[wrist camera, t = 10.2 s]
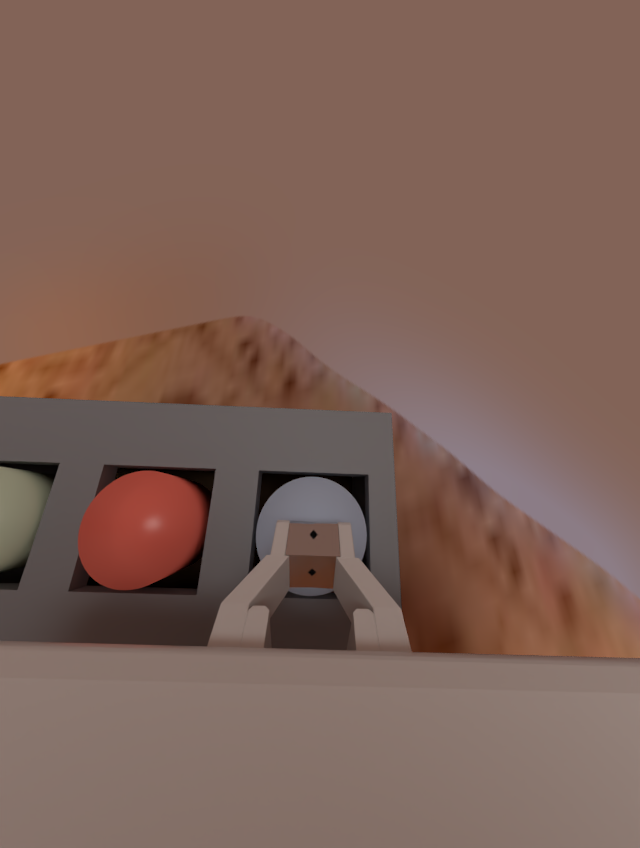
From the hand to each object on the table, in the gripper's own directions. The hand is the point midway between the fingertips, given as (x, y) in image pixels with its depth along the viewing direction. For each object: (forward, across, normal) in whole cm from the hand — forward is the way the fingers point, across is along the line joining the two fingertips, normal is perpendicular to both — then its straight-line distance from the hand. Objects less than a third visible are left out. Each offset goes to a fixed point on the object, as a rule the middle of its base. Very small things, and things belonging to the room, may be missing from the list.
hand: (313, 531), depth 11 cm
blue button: (+3, 0, +3) cm, 4 cm away
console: (+7, +8, +7) cm, 13 cm away
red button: (+3, +8, +3) cm, 9 cm away
